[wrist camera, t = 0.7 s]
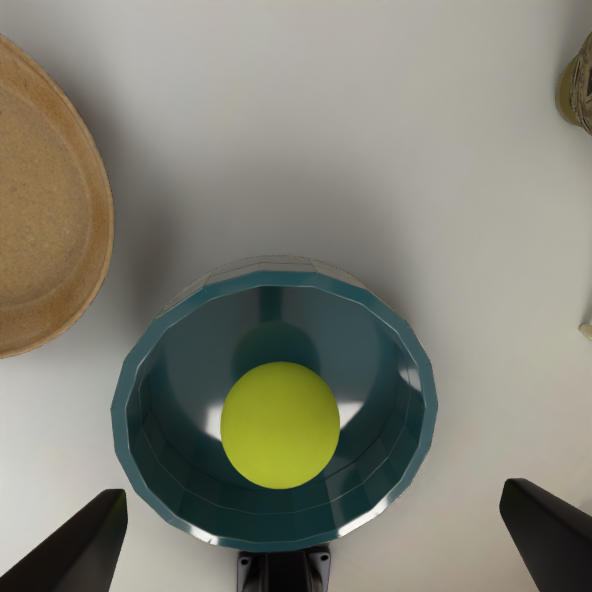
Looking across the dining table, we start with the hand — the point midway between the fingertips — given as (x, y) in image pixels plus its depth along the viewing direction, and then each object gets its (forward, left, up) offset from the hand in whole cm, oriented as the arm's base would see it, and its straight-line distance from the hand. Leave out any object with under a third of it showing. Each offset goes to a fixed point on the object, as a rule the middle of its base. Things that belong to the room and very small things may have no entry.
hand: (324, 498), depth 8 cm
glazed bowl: (-4, 0, -13) cm, 13 cm away
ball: (-4, 0, -12) cm, 13 cm away
